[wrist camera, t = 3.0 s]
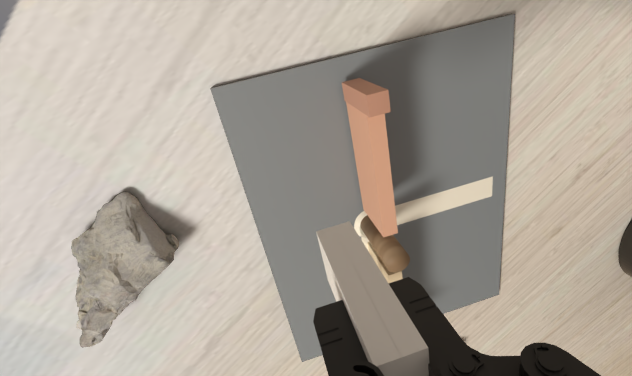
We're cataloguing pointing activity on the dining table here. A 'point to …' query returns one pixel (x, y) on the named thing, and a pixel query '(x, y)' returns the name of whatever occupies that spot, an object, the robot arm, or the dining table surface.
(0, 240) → the dining table surface
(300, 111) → the board
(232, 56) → the dining table surface
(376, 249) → the board
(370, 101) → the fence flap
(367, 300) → the robot arm
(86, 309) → the stone
